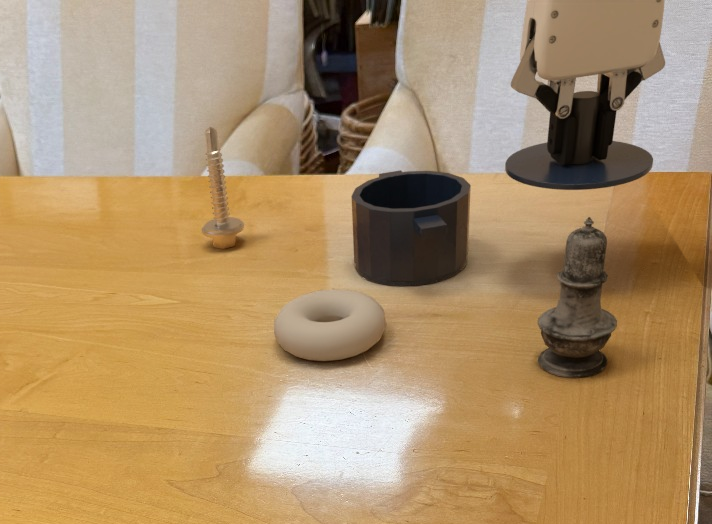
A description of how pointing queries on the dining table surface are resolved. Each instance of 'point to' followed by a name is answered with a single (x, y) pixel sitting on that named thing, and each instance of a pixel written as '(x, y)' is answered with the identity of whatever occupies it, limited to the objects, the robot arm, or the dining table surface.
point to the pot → (411, 227)
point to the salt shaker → (578, 310)
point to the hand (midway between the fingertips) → (578, 156)
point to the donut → (329, 324)
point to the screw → (219, 198)
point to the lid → (580, 157)
